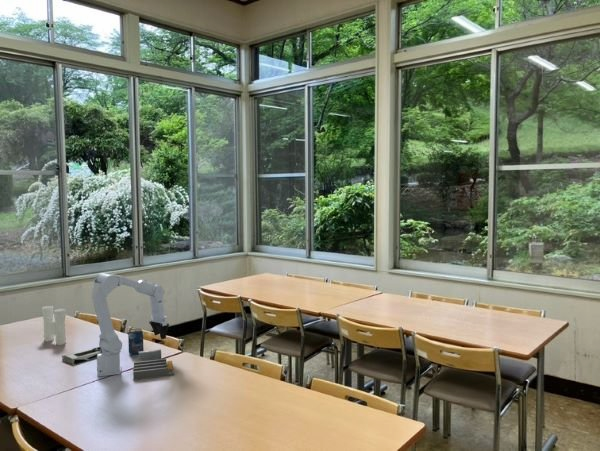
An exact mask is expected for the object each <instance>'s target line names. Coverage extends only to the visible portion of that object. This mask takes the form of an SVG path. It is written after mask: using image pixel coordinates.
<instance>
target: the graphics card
mask: <svg viewBox="0 0 600 451" xmlns="http://www.w3.org/2000/svg"><path fill="white" fill-rule="evenodd" d="M100 353H102V349H101V348H100V346H96V347H93V348H90V349H87V350H83V351H80V352H79V351H78V352H75V353H74V352H73V353H69V354H65V355H61V358H62V359H61V360H62V362H66V363H68V364H71V365H73V366H75V365H77V364H81V363H85V362H88V361H92V360H95V359H96V360H97V354H100Z"/></svg>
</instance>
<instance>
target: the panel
mask: <svg viewBox="0 0 600 451" xmlns="http://www.w3.org/2000/svg"><path fill="white" fill-rule="evenodd" d="M159 359H162V349H160V348H159V349H151V350H144V351H140V352H139V355H138V362H141V361H150V360H159Z"/></svg>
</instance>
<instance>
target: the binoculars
mask: <svg viewBox="0 0 600 451" xmlns="http://www.w3.org/2000/svg"><path fill="white" fill-rule="evenodd" d="M41 310H42V312H41V313H42V319H43V340H44V342H49V341H51V342H52V341H53V340H54V338H55V345H58V346H61V345H65V344H66V343H67V342H66V341H67V338H66V309H65V308H56V309H54V306H53V305H47V306H46V305H45V306H42V308H41Z"/></svg>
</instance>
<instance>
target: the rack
mask: <svg viewBox="0 0 600 451" xmlns="http://www.w3.org/2000/svg"><path fill="white" fill-rule="evenodd" d="M132 375H133V381H137V380H145V379H147V380H148V379H154V378H155V379H156V378H162V377H163V378H164V377H169V376H174V375H175V374H174V367H173V360H167V358H161V359H159V360H150V361H141V362H139V361H134V362H133V371H132Z"/></svg>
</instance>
